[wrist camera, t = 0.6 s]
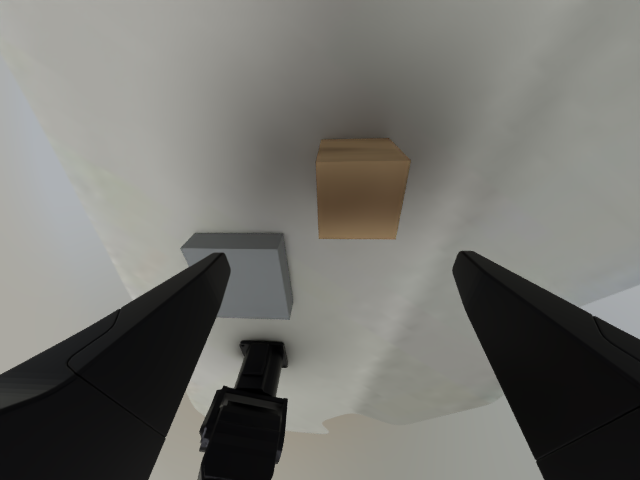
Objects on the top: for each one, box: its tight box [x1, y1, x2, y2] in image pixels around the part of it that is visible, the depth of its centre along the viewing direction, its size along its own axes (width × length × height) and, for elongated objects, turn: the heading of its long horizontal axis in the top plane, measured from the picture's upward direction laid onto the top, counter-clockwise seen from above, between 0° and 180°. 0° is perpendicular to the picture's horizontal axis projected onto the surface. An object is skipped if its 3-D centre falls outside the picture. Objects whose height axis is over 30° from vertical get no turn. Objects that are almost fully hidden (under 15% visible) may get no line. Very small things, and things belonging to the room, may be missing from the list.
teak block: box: [316, 138, 411, 239], centre depth 16 cm, size 5×5×6 cm
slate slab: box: [180, 233, 293, 320], centre depth 24 cm, size 10×9×3 cm
